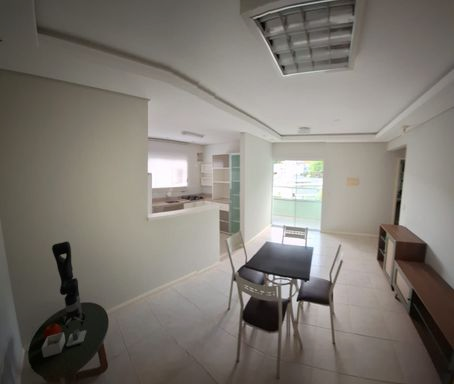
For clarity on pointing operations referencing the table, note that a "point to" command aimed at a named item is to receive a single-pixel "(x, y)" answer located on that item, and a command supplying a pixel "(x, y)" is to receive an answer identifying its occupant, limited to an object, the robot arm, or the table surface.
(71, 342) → the lid
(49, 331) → the apple
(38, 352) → the table surface
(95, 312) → the table surface
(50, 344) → the storage box
